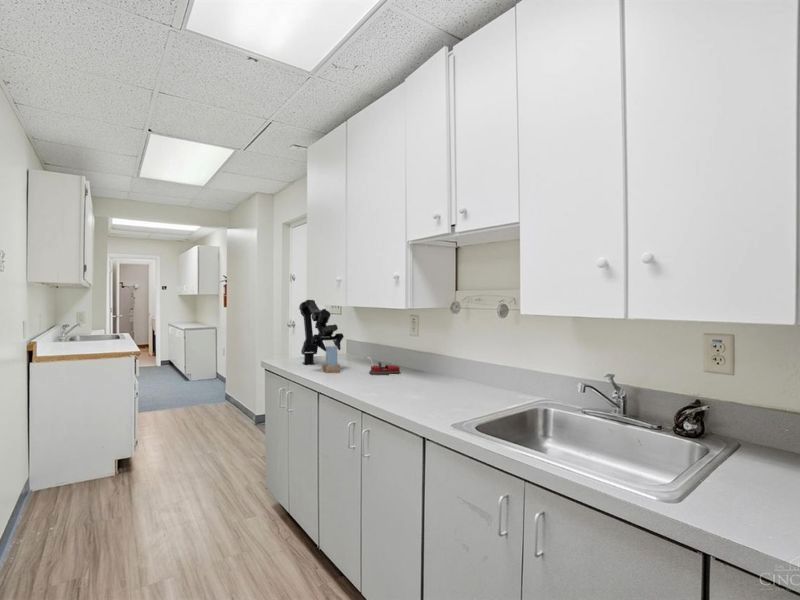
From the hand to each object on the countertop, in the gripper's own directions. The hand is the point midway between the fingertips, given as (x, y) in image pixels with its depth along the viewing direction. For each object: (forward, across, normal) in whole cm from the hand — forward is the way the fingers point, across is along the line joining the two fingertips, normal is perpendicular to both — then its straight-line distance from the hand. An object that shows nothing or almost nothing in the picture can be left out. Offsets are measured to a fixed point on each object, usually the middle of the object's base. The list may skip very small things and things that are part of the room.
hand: (332, 350), depth 234 cm
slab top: (+6, 0, +9) cm, 11 cm away
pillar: (+5, 0, +7) cm, 8 cm away
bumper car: (+22, +22, -3) cm, 31 cm away
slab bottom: (+8, 0, +10) cm, 13 cm away
